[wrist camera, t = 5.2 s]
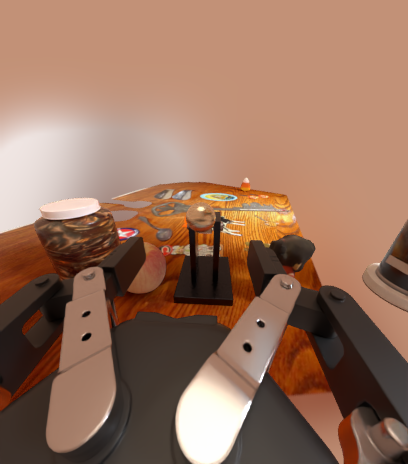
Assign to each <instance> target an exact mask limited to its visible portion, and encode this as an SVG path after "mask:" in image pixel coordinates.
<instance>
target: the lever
mask: <svg viewBox="0 0 408 464" xmlns="http://www.w3.org/2000/svg"><path fill="white" fill-rule="evenodd" d="M215 219H216V216H215V212H214V210H213V208H212V207H211V206H210V205H208V204H206V203H196V204H194V205H192V206H191V207H190V208H189V209H188V211H187V214H186V221H187V224H188V226H189V227H190V228H191V229H192V230H194V231H196V232H198V233H212V227H213V225H214V223H215Z"/></svg>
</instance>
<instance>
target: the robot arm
mask: <svg viewBox="0 0 408 464" xmlns="http://www.w3.org/2000/svg"><path fill="white" fill-rule="evenodd" d="M145 260H146V252H145V247H144V242H143V238H142V237H130V238H129V239H128V240H127V241H126V242H125V243H123V244H121V245H119V246H117V247H116V248H115V249H114V250H113V252H111V253H110V254H109V255H108V256H107V257H106V258H105V259H104V260H103V261H102V262H101V263H100V264H99V265H98V266H97V267H90V268H87V269H85V270H83V271H81V272H79V273H78V274H77V275H76V276H75V277H74V278H71V279H65V280H61V279H60V277H59V275H58V274H54V273H52V274H46V275H43V276H40V277H38V278H36V279H34V280H32V281H31V282H29V283H28V284H27V285H25V286H24V287H23V288H22V289H20V290H19V291H18V292H16V293H15V294H14V295H12V296H11V297H10V298H8V299H7V300H6V301H4V302H3V303H2V304H1V305H0V464H339V463H338V461H337V460H336V458H335V457H334V455H333V454H332V452H331V451H330V449H329V448H328V447H327V446H326V444H325V443H324V442H323V441H322V439H321V438H320V437H319V436H318V434H317V433H316V432H315V431H314V429H313V428H312V427H311V426H310V424H309V423H308V422H307V421H306V419H305V418H304V417H303V416H302V415H301V413H300V412H299V411H298V409H297V408H296V407H295V406H294V404H293V403H292V402H291V401H290V399H289V398H288V397H287V396H286V394H285V393H284V392H283V391H282V389H281V388H280V387H279V386H278V384H277V383H276V382H275V381H274V379H273V378H272V377H271V376H270V374H269V373H268V372H269V370H270V367H271V365H272V362H273V360H274V357H275V355H276V352H277V350H278V347H279V345H280V342H281V340H282V338H283V335H284V333H285V330H286V328H287V326H288V325H291V326H294V327H297V328H300V329H302V330H305V331H306V333H307V335H308V338H309V340H310V342H311V345H312V347H313V349H314V351H315V354H316V356H317V358H318V361H319V363H320V365H321V368H322V370H323V372H324V374H325V377H326V379H327V381H328V384H329V386H330V388H331V391H332V393H333V395H334V397H335V400H336V402H337V404H338V406H339V409H340V411H341V414H342V416H343V418H344V419H343V420H342V422H341V423H340V424H339V428H338V436H339V441H340V445H341V448H342V451H343V456H344V464H408V363H407V361H406V360H405V359H404V358H403V357H402V356H401V354H400V353H399V352H398V351H397V350H396V348H395V347H394V346H393V345H392V344H391V343H390V341H389V340H388V339H387V338H386V337H385V335H384V334H383V333H382V332H381V331H380V330H379V328H378V327H377V326H376V325H375V324H374V323H373V321H372V320H371V319H370V318H369V317H368V315H367V314H366V313H365V312H364V311H363V310H362V308H361V307H360V306H359V305H358V304H357V303H356V301H355V300H354V299H353V298H352V297H351V296H350V295H349V294H348V293H346V292H345V291H343V290H341V289H339V288H337V287H334V286H322V287H321V288H320V290H319V292H318V291H315V290H311V289H307V288H304V287H301V285H300V283H299V282H298V281H297V280H296V279H295V278H293V277H291V276H289V275H287V273H286V271H285V270H284V268H283V266H282V264H281V263H280V262H279V259H278V258H277V256H276V254H275V252H274V251H273V250H271V249H270V248H267V247H265V246H264V244H263V242H262V241H260V240H251V241H250V244H249V251H248V257H247V265H248V269H249V273H250V276H251V280H252V284H253V287H254V291H255V294H256V297H255V298H254V299H253V301H252V302H251V304H250V305H249V306H248V308H247V309H246V311H245V312H244V314H243V315H242V316H241V318H240V319H239V321H238V322H237V323H236V325H235V326H234V328H233V329H232V330H231V329H230V328H228V327H226V326H225V325H222V324H220V323H217V316H210V315H194V316H188V317H183V318H177V319H176V318H172V317H169V316H166V315H163V314H160V313H155V312H138V313H137V315H136V317H135V318H134V319H131V320H127V321H125V322H122V323H120V324H119V321H118V316H117V311H116V306H115V302H114V298H115V296H124V295H125V293H126V292H127V290H128V288H129V287H130V285H131V284H132V282H133V280H134V279H135V277H136V276H137V274H138V272H139V271H140V269H141V268H142V266H143V264H144V263H145ZM375 273H376V275H377V277H378V278H379V279H380V280H381V281H382V282H384V283H385V284H386V285H388V286H389V287H391V288H393V289H394V290H396V291H398V292H400V293H402V294H404V295H406V296H408V220H407V221H406V223H405V224H404V226H403V228H402V229H401V231H400V233H399V234H398V236H397V238H396V239H395V241H394V242H393V244H392V246H391V247H390V249H389V250H388V252H387V254H386V255H385V257H384V259H383V260H382V261H381V263H380V265H379V266H378V267H377V269H376V271H375ZM38 310H40V312H41V313H42V314H43V316H42V317H41V318H40V319H39V321H38V322H37V323H36V324H35V325H34V326H33V327H32V328H31V329H30V330H29V331H28V332H27V333H26V334H25V335H24V334H23V333H22V328H23V325H24V324H25V322H26V321H27V320H28V319H29V318H30V317H31V316H32V315H33V314H34V313H36V312H37V311H38ZM62 332H63V337H62V346H61V355H60V364H59V368H58V369H57V370H55V371H54V372H53V373H51V374H50V375H48V376H47V377H46V378H44V379H43V380H42V381H40V382H39V383H38V384H36V385H35V386H34V387H32V388H31V389H30V390H28V391H27V392H26V393H24V394H23V395H22V396H20V397H19V398H17V399H16V400H15V401H13V402H12V403H11V404H9V403H10V400H11V397H12V396H13V395H14V393H15V392H16V391H17V389H18V388H19V387H20V386H21V384H22V383H23V382H24V380H25V379H26V378H27V377H28V375H29V374H30V373H31V371H32V370H33V369H34V368H35V366H36V365H37V364H38V362H39V361H40V360H41V359H42V357H43V356H44V355H45V353H46V352H47V351H48V350H49V348H50V347H51V346H52V344H53V343H54V342H55V341H56V339H57V338H58V337H59V335H60V334H61V333H62Z"/></svg>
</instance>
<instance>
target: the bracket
mask: <svg viewBox="0 0 408 464" xmlns="http://www.w3.org/2000/svg"><path fill="white" fill-rule="evenodd" d="M215 216H216V219H215V223H214V244H213V257H212V256H198V232H196V231H194V230H192V229H191V228H190V227H189V226H188V224H187V229H188V230H189V244H190V256H185V259H184V262H183V266H182V269H181V273H180V276H179V280H178V283H177V287H176V290H175V294H174V303H189V304H208V305H227V306H232V305H233V293H232V285H231V277H230V268H229V260H228V257H219V249H220V230H222V231H223V222H221V217H220V212H215Z"/></svg>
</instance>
